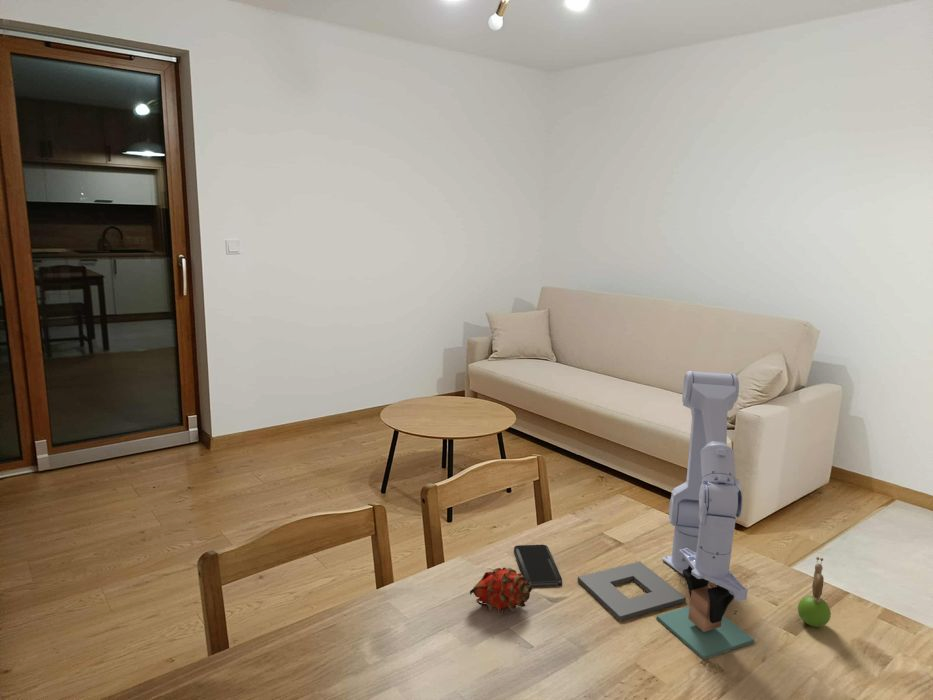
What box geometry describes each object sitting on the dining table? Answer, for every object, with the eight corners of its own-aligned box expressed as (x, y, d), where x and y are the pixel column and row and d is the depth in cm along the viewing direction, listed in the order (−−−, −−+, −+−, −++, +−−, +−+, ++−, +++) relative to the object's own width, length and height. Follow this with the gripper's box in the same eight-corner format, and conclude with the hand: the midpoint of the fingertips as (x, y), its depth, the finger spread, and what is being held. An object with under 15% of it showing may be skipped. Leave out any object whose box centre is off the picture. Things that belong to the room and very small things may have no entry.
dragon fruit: (535, 617, 121) (474, 624, 121) (529, 574, 126) (470, 580, 127) (535, 602, 114) (470, 609, 115) (528, 557, 120) (466, 564, 120)
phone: (526, 584, 128) (513, 545, 142) (525, 589, 128) (513, 549, 142) (564, 582, 128) (547, 544, 143) (563, 587, 129) (547, 548, 143)
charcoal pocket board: (639, 565, 137) (639, 561, 136) (685, 601, 124) (686, 597, 124) (577, 581, 130) (577, 576, 130) (619, 621, 118) (620, 616, 118)
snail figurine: (826, 616, 121) (836, 560, 118) (829, 636, 115) (839, 577, 112) (795, 608, 123) (803, 553, 120) (796, 627, 117) (805, 570, 115)
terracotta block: (704, 613, 118) (708, 585, 117) (720, 626, 115) (724, 597, 113) (688, 618, 116) (691, 590, 115) (704, 632, 113) (707, 602, 112)
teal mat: (704, 604, 124) (704, 601, 124) (754, 642, 113) (754, 639, 113) (656, 618, 119) (656, 615, 119) (703, 659, 108) (703, 656, 108)
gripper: (668, 531, 117) (661, 596, 120) (729, 572, 104) (719, 643, 107) (697, 524, 120) (690, 588, 123) (760, 563, 107) (750, 633, 110)
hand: (706, 613), depth 115 cm, fingers closed on terracotta block, 4 cm apart
